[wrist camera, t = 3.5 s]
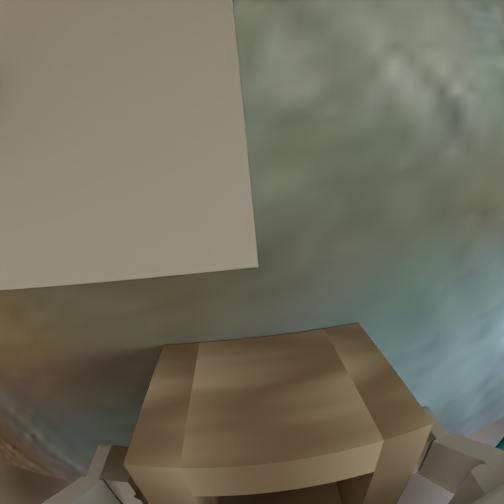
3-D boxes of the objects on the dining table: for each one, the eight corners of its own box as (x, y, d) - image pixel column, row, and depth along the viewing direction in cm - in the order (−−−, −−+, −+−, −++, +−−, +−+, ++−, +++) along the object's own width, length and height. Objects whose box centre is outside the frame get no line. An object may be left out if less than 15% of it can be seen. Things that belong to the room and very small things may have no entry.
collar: (358, 322, 10) (433, 423, 5) (345, 445, 11) (378, 533, 7) (163, 345, 10) (123, 464, 5) (200, 462, 11) (193, 558, 6)
